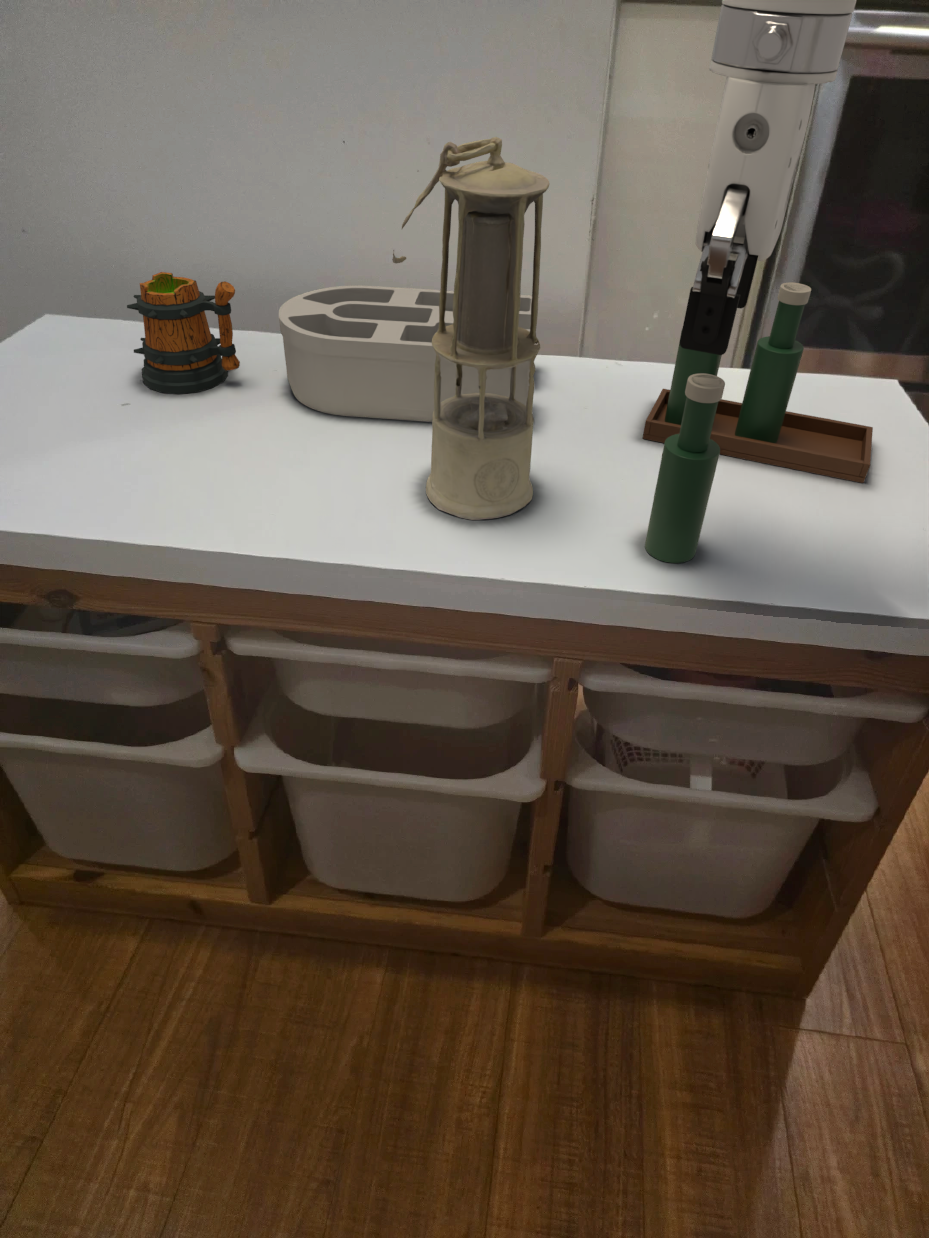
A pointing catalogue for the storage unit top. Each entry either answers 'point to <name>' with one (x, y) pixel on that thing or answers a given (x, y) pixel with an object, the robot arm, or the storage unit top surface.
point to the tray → (782, 441)
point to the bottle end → (685, 367)
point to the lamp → (484, 334)
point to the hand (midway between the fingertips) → (713, 326)
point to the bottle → (686, 475)
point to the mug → (184, 335)
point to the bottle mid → (774, 369)
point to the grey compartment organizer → (379, 352)
